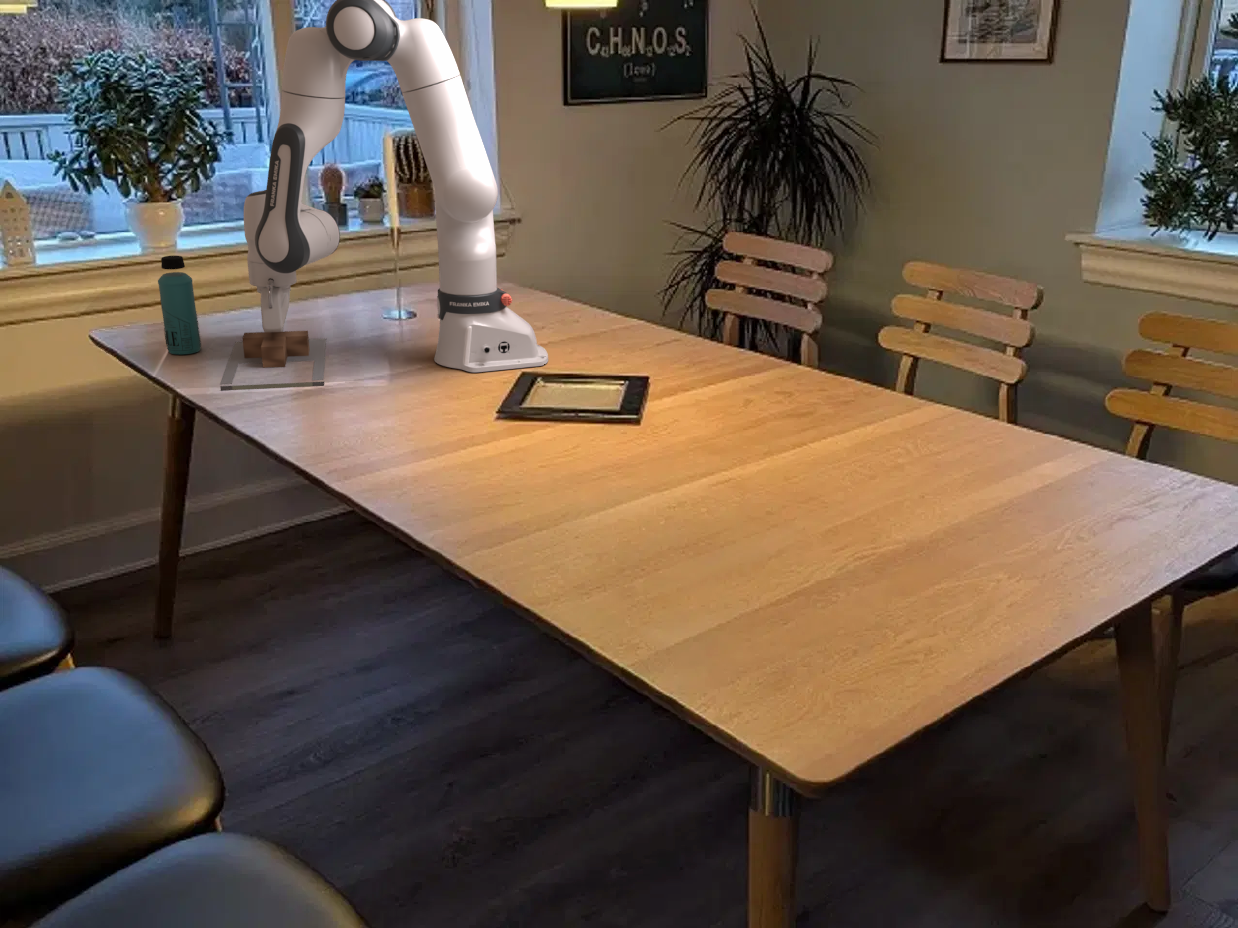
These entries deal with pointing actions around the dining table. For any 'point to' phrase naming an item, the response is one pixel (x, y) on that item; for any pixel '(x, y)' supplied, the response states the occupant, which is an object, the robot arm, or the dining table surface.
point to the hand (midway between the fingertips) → (278, 343)
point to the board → (315, 355)
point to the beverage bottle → (178, 308)
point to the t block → (275, 346)
